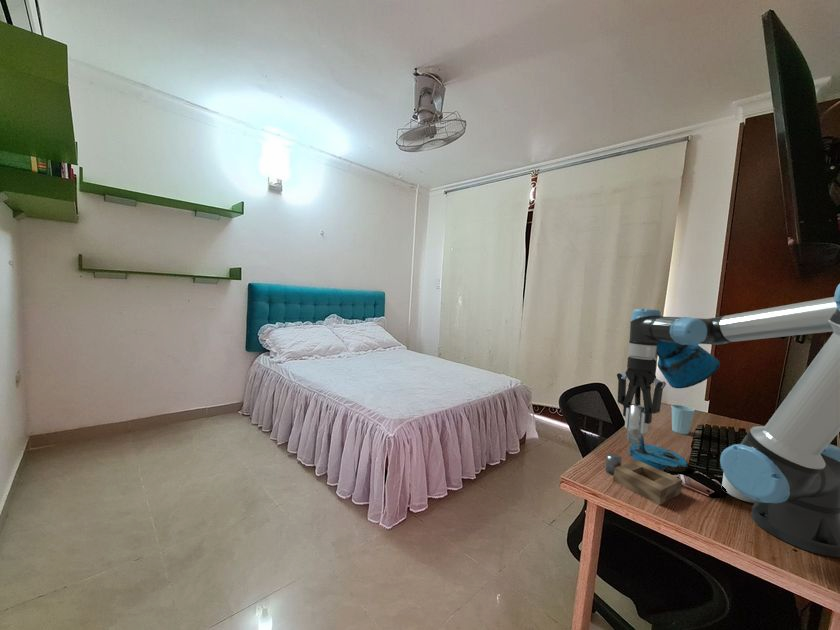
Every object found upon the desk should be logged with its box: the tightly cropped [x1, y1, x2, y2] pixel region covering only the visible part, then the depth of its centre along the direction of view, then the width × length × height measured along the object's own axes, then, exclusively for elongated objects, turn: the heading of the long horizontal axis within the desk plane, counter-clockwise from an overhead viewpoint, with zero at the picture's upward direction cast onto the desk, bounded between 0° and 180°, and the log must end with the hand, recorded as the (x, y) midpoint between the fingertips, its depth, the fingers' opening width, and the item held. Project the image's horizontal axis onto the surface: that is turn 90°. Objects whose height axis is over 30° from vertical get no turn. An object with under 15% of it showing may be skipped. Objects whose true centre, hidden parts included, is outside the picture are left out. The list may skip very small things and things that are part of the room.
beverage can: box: [721, 472, 756, 504], centre depth 92 cm, size 8×8×12 cm
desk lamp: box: [628, 341, 721, 471], centre depth 109 cm, size 16×22×45 cm
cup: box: [670, 404, 696, 435], centre depth 137 cm, size 8×8×10 cm
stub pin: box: [604, 452, 622, 476], centre depth 100 cm, size 4×4×5 cm
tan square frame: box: [612, 459, 683, 506], centre depth 93 cm, size 12×12×4 cm
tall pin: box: [626, 403, 645, 446], centre depth 104 cm, size 4×4×12 cm
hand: (635, 429), depth 104 cm, fingers closed on tall pin, 4 cm apart
